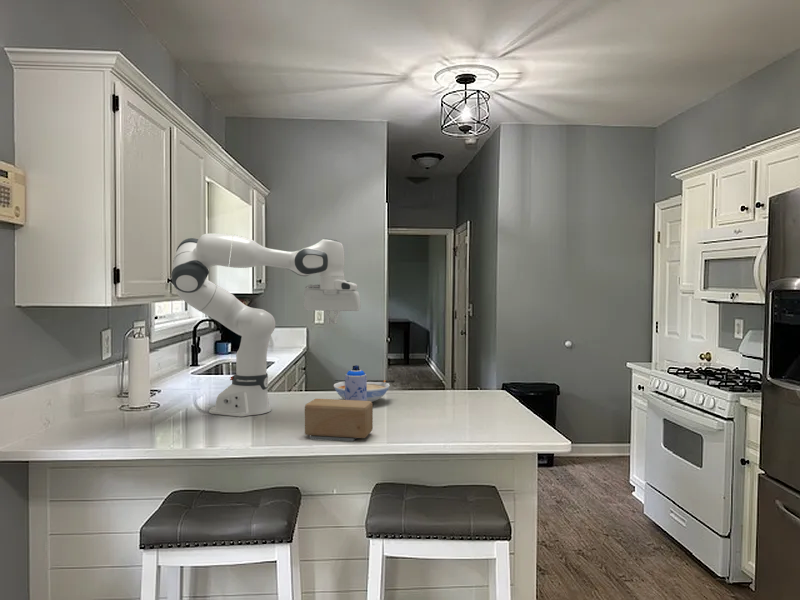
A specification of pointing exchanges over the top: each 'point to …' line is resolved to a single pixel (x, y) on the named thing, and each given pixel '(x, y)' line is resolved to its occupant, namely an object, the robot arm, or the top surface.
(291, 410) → the top surface
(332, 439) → the mat
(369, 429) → the wooden block
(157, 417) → the top surface
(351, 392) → the aerosol can
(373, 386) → the ramen bowl
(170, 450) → the top surface
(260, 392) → the robot arm
